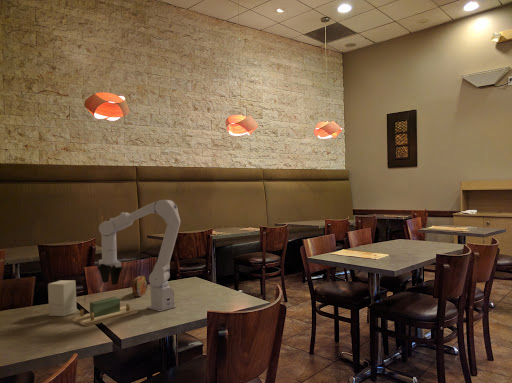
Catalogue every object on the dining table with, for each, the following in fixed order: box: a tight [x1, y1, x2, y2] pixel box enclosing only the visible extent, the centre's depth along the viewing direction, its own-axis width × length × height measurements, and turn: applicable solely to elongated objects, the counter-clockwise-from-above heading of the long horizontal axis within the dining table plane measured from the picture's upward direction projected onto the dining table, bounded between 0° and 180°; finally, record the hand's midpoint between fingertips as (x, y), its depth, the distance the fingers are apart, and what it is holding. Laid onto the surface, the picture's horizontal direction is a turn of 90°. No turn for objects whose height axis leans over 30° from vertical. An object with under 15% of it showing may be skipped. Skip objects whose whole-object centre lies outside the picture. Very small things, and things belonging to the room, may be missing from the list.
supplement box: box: [47, 279, 77, 317], centre depth 156 cm, size 7×7×13 cm
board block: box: [89, 296, 121, 318], centre depth 149 cm, size 4×10×5 cm, turn 138°
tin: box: [131, 275, 148, 298], centre depth 184 cm, size 15×3×8 cm, turn 179°
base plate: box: [71, 303, 138, 327], centre depth 149 cm, size 12×20×4 cm, turn 139°
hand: (110, 283), depth 161 cm, fingers open, 7 cm apart
